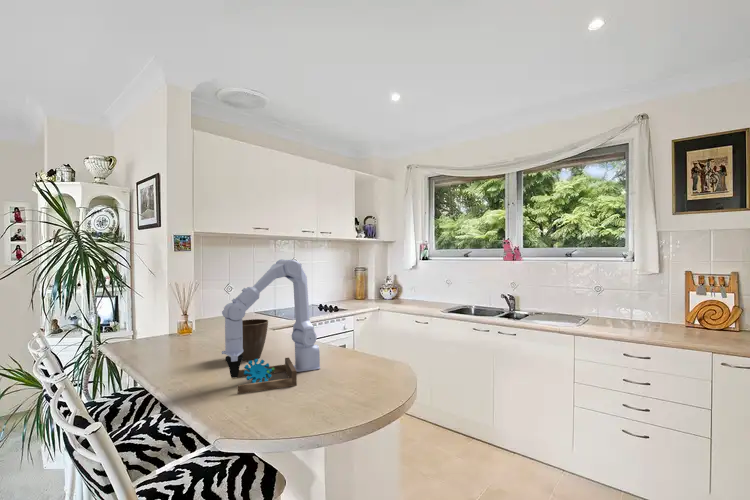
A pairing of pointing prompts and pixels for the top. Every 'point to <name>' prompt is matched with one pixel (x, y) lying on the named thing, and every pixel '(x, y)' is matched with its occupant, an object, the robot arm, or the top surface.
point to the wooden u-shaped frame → (272, 384)
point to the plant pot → (253, 338)
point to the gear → (258, 371)
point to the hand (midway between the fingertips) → (234, 377)
